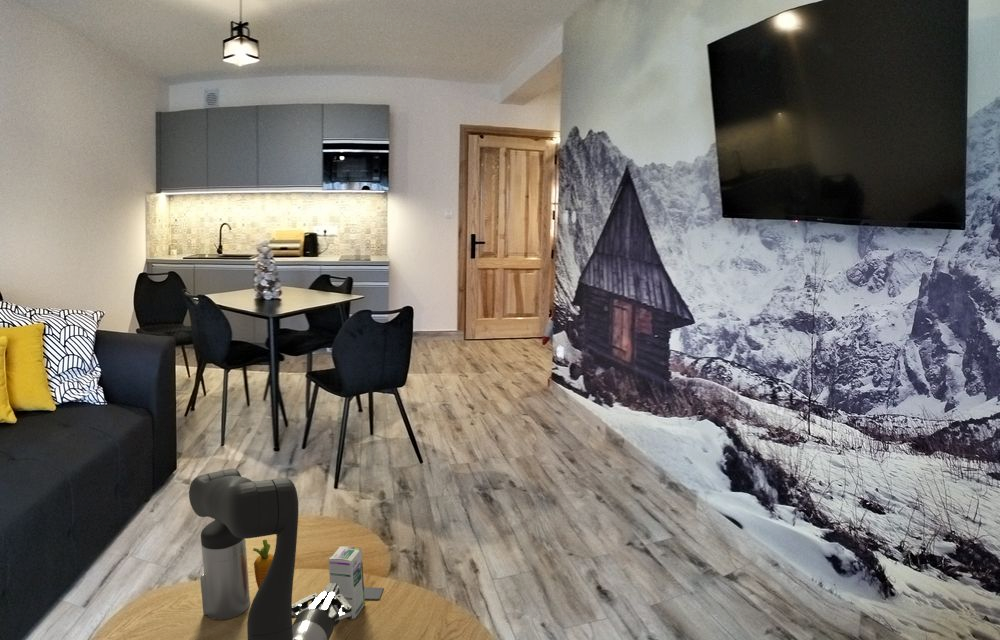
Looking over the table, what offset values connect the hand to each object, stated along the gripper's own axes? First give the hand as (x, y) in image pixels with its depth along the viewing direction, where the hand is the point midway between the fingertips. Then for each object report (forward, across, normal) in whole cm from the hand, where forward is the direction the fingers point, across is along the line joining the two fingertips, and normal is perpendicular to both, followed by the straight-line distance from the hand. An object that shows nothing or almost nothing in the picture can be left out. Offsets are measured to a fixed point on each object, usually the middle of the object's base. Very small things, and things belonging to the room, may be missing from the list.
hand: (334, 586), depth 138 cm
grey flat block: (+16, -2, +12) cm, 20 cm away
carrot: (+12, +20, +12) cm, 26 cm away
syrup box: (+9, 0, +12) cm, 15 cm away
